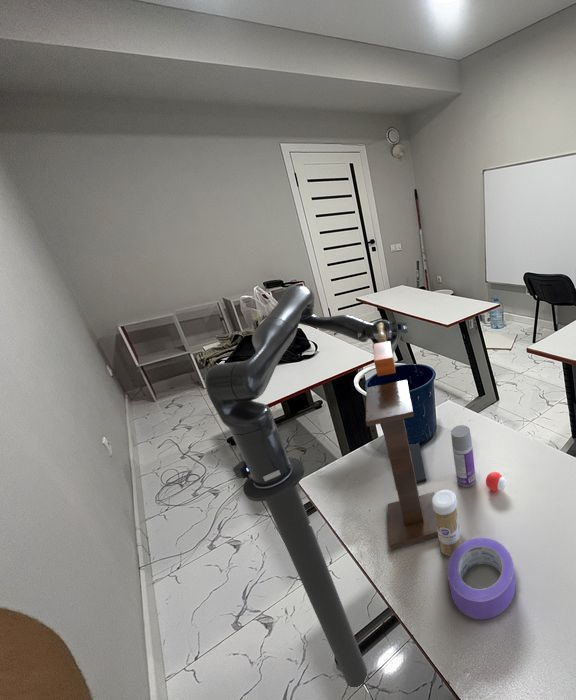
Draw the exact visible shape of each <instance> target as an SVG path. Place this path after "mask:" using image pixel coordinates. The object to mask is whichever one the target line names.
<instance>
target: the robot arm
mask: <svg viewBox="0 0 576 700" xmlns="http://www.w3.org/2000/svg"><path fill="white" fill-rule="evenodd" d="M315 302H316V301H315V294H314V292H313V290H312V289H310V288H309V287H308V286H305V285H292V286H290V287H288V288H287V289H285V290H284V292H283V293H282V296H281V297H280V299H279V300H278V303H277V304H276V305H275V306H274V308H273V309H272V310H271V311H270V312H269V313H268V314H267V316H266V317H265V318H264V319H263V320H262V321H261V323H259V324H258V326H257V327H256V328H255V329H254V331H253V333H252V335H251V342H252V346H253V348H254V350H255V353H254V354H253V355H252V356H251V357H250V358H248V359H246V360H243V361H233V362H223V363H218V364H214V365H212V366H211V367H209V369H208V370H207V371H206V374H205V378H204V386H205V390H206V393H207V395H208V398H209V400H210V402H211V404H212V406H213V407H214V409H215V411H216V413H217V415H218V417H219V419H220V420H221V422H222V423H223V425H224V426H226V427H227V428H228V429H229V431H230V433H231V435H232V438H233V440H234V442H235V444H236V447H237V449H238V451H239V453H238V455H239V457H240V460H241V461H240V462H238V463H237V464H236V465H235V466H234V467H232V470H233V472H234V475H235V477H236V478H238V479H242V480H243V479H244V480H245V479H247V478H248V479H249V478H250V480H251V482H252V483H253V484H254V486H255V487H256V488H257V489H260V490H267V489H271V488H274V487H277V486H279V485H280V484H282V483H284V482H285V481H286V480H287V479H288V478H289V477H290V476H291V474H292V472H293V467H292V464H291V463H290V460H289V458H288V457H289V454H288V453H287V449H286V447H285V444H284V442H283V438H282V437H281V434H280V432H279V429H278V427H277V424H276V422H275V421H276V420H275V418H274V416H273V414H272V411H271V409H270V407H269V406H268V405H267V404H265V403H262V402H259V401H254V400H257V399H259V398H260V397H261V396H262V395H263V394H264V392H265V391H266V389H267V388H268V386H269V383H270V381H271V379H272V377H273V374H274V373H275V370H276V367H277V366H278V364H279V362H280V361H281V359H282V357H283V355H284V354H285V352H286V351H287V349H288V348H289V347H290V345H291V344H292V343H293V341H294V338H295V337H296V335H297V331H298V328H299V325H303V326H307V327H312V328H316V329H320V330H325V331H328V332H332V333H335V334H339V335H343V336H345V337H348V338H350V339H352V340H355V341H357V342H361V343H367V342H368V341H369V340H370V341H371V342H372V345H373V344H376V343H379V341H378V326H377V325H378V323H380V322H382V323H384V328H385V332H386V340H387V342H388V341H390V342H391V347H392V352H393V354H394V353H395V351H396V348H397V346H398V343H399V341H400V339H401V336H402V334H407V333H408V331H409V330H408V326H407V322H398V321H393V322H391V321H389V320H387V319H380V320H377V321H375V322H374V323H373V322H370V321H367V320H364V319H361V318H360V317H356V316H355V315H354V316H353V315H351V314H339V315H333V316H321V315H318V314H316V313H314V308H315ZM372 350H373V351H374V347H373V346H372Z"/></svg>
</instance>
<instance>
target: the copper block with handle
mask: <svg viewBox="0 0 576 700" xmlns="http://www.w3.org/2000/svg"><path fill="white" fill-rule="evenodd" d="M377 326H378V341H379V343H376V344H373V343H372V348H373V347H374V350H373V362H374V367H375V371H376V376H377V377H383V376H388V375H392V374H396V373H397V372H396V366H395V358H394V353H393V352H392V347H391V342H390V341H388V342H387V340H386V332H385V328H384V323H382V322H380V323H378V325H377Z"/></svg>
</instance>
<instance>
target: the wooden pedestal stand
mask: <svg viewBox="0 0 576 700" xmlns="http://www.w3.org/2000/svg"><path fill="white" fill-rule="evenodd" d="M365 394H366V395H365V397H366V398H365V425H366V427H371V426H375V425H381V428H382V434H383V436H384V441H385V446H386V450H387V455H388V459H389V462H390V467H391V471H392V476H393V480H394V485H395V488H396V493H397V497H398V501H394V502H390V503H387V505H386V506H387V524H388V542H389V544H388V545H389V548H390V550H391V551H394V550H396V549H400V548H404V547H407V546H412V545H414V544H417V543H418V544H419V543H421V542H424V541H428V540H432V539H435V538H439V537H438V531H437V523H436V517H435V511H434V509H433V505H432V498H433V496H434V495H435V494H436V492H435V491H433V492H432V491H431V492H429V493H425V494H421V495H420V493H419V489H418V483H416V478H415V473H414V468H413V463H412V458H411V453H410V448H409V438H408V432H407V428H406V423H405V419H408V418H413V417H414V416H415V414H414V410H413V404H412V400H411V394H410V388H409V384H408V379H404V380H399V381H393V382H389V383H383V384H379V385H374V386H369V387H366V393H365Z"/></svg>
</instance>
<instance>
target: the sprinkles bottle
mask: <svg viewBox="0 0 576 700" xmlns="http://www.w3.org/2000/svg"><path fill="white" fill-rule="evenodd" d="M432 505H433V509H434V511H435V517H436V523H437V531H438V537H437V538H438V540H439V549H440V551H441V553H442V554H443V555H445V556H447V557H451V555H452V554H453V552H454V551H455V549H456V548H457V547H458V546H459V545H461V544H462V543H463V542H462V538H461V529H460V523H459V515H458V508H457V507H458V502H457V496H456V493H455V492H454V491H452V490H450V489H441V490H439V491H437V492H435V495H434V496H433V498H432Z"/></svg>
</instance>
